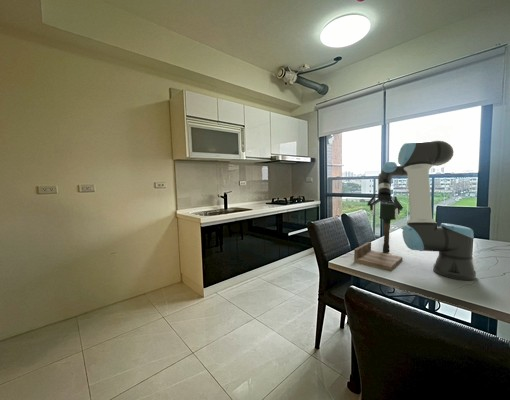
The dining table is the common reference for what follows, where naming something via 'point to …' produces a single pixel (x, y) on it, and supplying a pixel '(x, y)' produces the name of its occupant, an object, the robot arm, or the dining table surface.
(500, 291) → the dining table surface
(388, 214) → the stick grenade
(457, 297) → the dining table surface
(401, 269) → the dining table surface
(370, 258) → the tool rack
